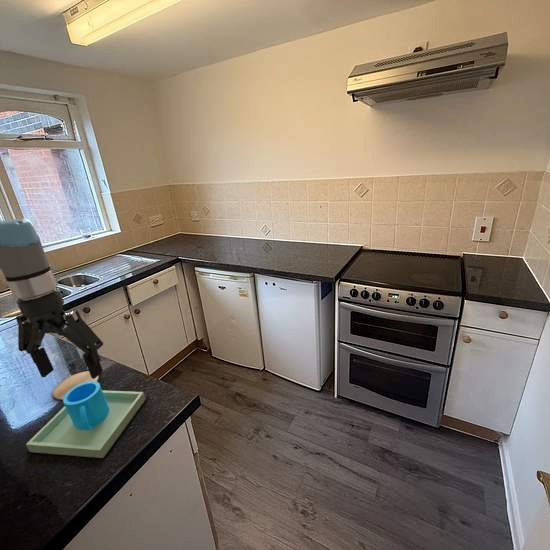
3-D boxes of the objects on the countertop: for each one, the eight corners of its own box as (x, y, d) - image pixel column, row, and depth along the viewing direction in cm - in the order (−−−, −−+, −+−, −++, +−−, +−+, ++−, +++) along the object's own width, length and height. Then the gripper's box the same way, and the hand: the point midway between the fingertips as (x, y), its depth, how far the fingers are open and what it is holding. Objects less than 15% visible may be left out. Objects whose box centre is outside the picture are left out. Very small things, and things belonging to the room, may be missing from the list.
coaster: (43, 399, 87) (42, 398, 87) (74, 371, 98) (74, 370, 98) (79, 400, 85) (78, 399, 85) (107, 372, 96) (106, 371, 96)
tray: (29, 452, 70) (25, 444, 69) (84, 396, 86) (81, 389, 85) (103, 458, 67) (99, 450, 66) (146, 398, 83) (143, 391, 82)
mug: (75, 413, 80) (64, 389, 77) (109, 400, 83) (100, 376, 80) (71, 447, 70) (59, 421, 67) (110, 430, 73) (99, 405, 70)
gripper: (101, 284, 64) (128, 364, 72) (6, 287, 69) (41, 363, 76) (75, 299, 58) (108, 386, 65) (-29, 302, 62) (13, 383, 70)
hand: (72, 374), depth 71 cm, fingers open, 13 cm apart
